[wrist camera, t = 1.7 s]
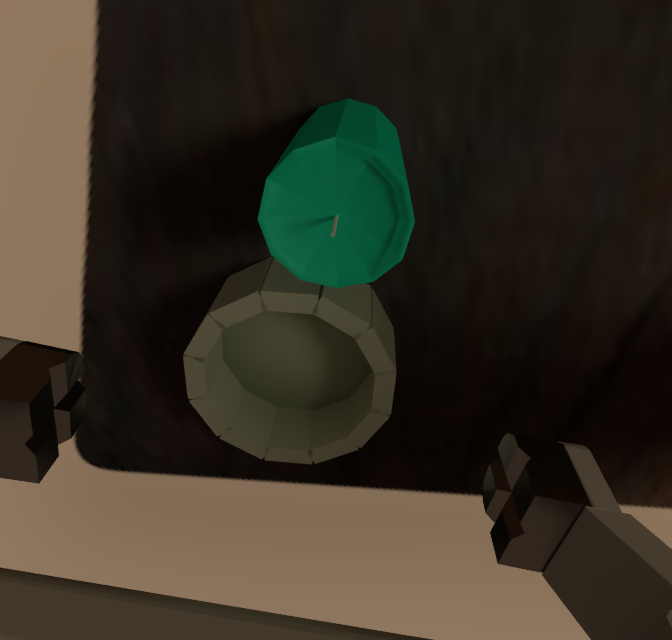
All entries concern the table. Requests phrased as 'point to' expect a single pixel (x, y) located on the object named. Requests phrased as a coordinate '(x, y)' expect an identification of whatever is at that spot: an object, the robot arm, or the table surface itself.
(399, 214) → the candle
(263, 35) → the table surface
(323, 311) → the dish
